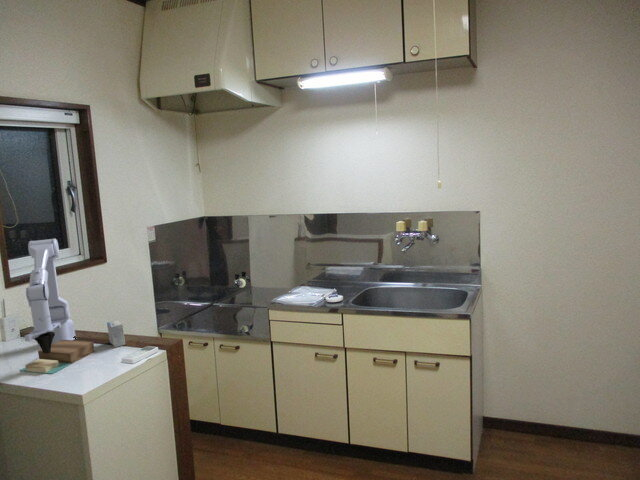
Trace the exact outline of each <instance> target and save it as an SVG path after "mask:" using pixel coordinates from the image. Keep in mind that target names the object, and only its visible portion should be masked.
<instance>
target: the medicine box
mask: <svg viewBox="0 0 640 480" xmlns="http://www.w3.org/2000/svg"><path fill="white" fill-rule="evenodd" d="M106 325H107V331H108V340H109V343H110V344H111V345H112V346H113V347H114V348H118V347H121V346H125V345H126V341H125V339H126V338H125V332H124V331H125V330H124V326H123V323H122V322H120V320H118V319H116V320H112V321H108V322H106Z"/></svg>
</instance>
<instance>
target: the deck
mask: <svg viewBox="0 0 640 480" xmlns="http://www.w3.org/2000/svg"><path fill="white" fill-rule="evenodd" d="M37 353H38V359H45V360H57V361H58V362H60V363H71V364H70V365H72V364H74V363H76V362H78V361H79V360H81V359H83V358H85V357H87V356H89V355H92V354H93V353H95V345H94V341H91V340H90V341H87V340H76V339H74V340H60V341H58V342H56V343H54V344H52V345H51V352H50V353H48V354H45V353H43V351H42V349H41V348H40V350H38V351H37Z"/></svg>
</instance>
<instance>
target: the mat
mask: <svg viewBox="0 0 640 480" xmlns="http://www.w3.org/2000/svg"><path fill="white" fill-rule="evenodd" d="M58 363H59V366H58V367H56V368H54V369H52V370H50V371H48V372H46V373H44V372H34V371H26V367H23V368H21V369H19V371H20V372H28V373H37V374H45V375H46V374H49V375H53V374H56V373H58V372H60V371H61V370H63V369H65V368H67V367H69V366H70V365H72V364H71V363H60V362H58Z"/></svg>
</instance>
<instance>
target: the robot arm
mask: <svg viewBox="0 0 640 480" xmlns="http://www.w3.org/2000/svg"><path fill="white" fill-rule="evenodd" d="M27 249H28V254H29V256H31V258H32V259H33V260H34V261H33V265H34V269H32V270H31V271H30V275H29V285H28V287H26V288H25V296H26V299H27V302H28V307H29V308H30V313H31V318H32V325H33V330H32V331H30V332H29V333H28V334H25V335H24V341H25V342H31V341H32V340H35V342H36V343H37V344H38V346H39V347H40V350H41V349H42V351H43V353H45V354H48V353H50V352H51V345H52V344H54V343H56V342H58V341H60V340H76V339H75V338H73V337H74V336H76V329H75V324H74V322H73V320H72V319H71V309H70V306H69V302H68V300H66V299H65V298H62V297H60V291H59V283H58V278H57V277H58V275H57V271H56V269H57V268H56V259H57V258H59V257H60V248H59V242H58V239H56V238H49V239H40V240H30V241H28V245H27Z"/></svg>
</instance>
